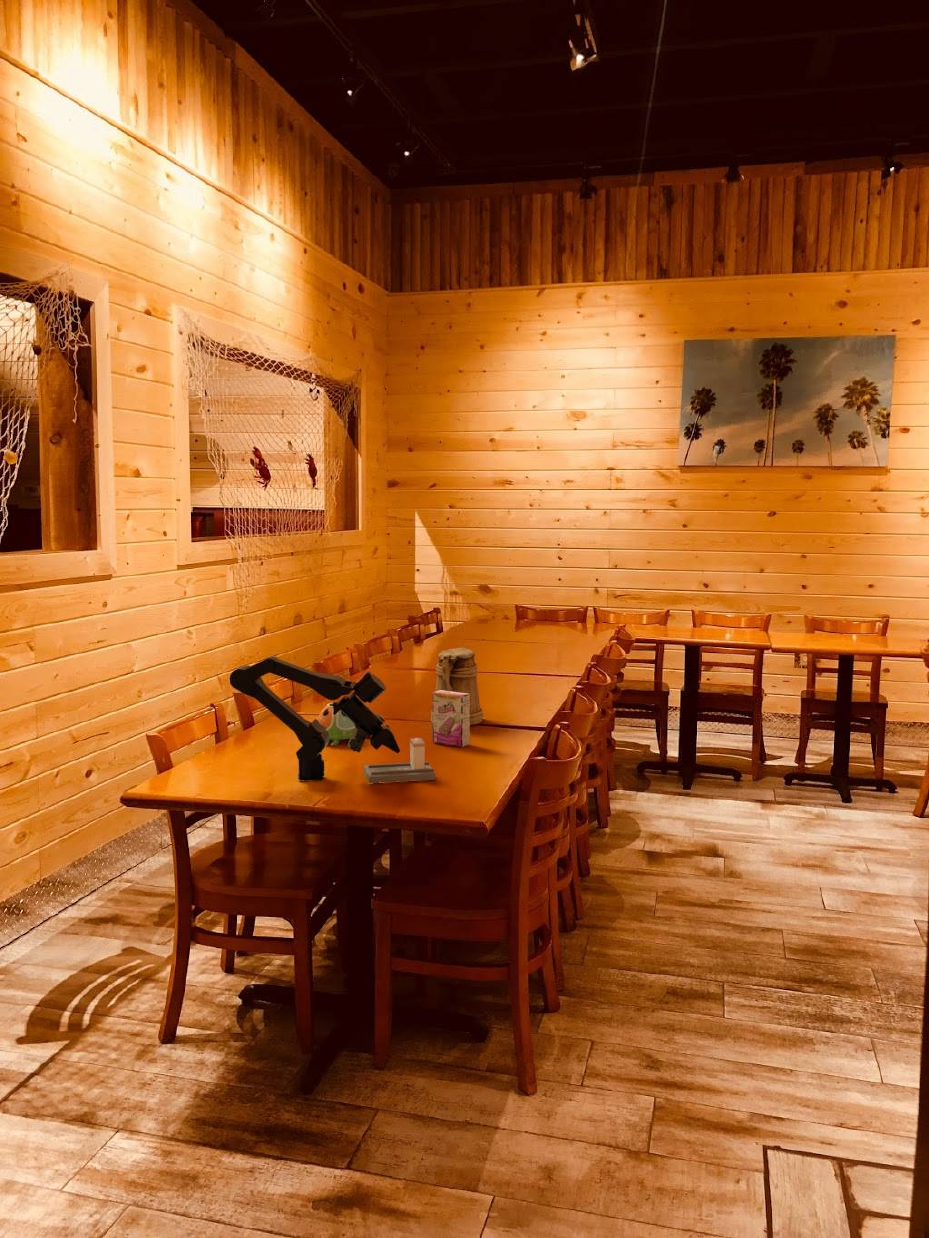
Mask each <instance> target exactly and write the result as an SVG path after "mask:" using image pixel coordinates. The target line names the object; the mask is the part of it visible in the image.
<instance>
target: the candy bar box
mask: <svg viewBox="0 0 929 1238" xmlns="http://www.w3.org/2000/svg"><path fill="white" fill-rule="evenodd" d="M432 709H433V722H432V744H439V745H442V746H443V745H445V746H452V747H457V748H465V747H467V746H469V745H470V742H471V741H470V740H471V739H470V738H471V737H470V735H471V734H470V733H471V732H470V731H471V726H470V694H468V693H460V692H452V691H445V690H439V691H436V690H435V691H433V692H432Z"/></svg>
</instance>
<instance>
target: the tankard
mask: <svg viewBox="0 0 929 1238" xmlns="http://www.w3.org/2000/svg"><path fill="white" fill-rule="evenodd" d="M475 656H476V653H475V652H474V651H473V650H471V649H468V648H466V647H456V648H450V649H449V648H448V649H446V650H442V651H441V652H440V653H439V654H438V655H437V658H438V662H437V664H436V668H435V673H436V683H435V684H436V685H435V691H439V690H445V691H452V692H460V693H468V694H470V727H472V726H476V725H478V724H481V723H482V722H483V717H484V713H483V708H481V703H480V696H479V688H478V678H477V675H478V672H479V671H478V665H477V663H476V662H475V661H476V660H475ZM430 713H431V715H430V722H431V723H433V708H432V709H431V711H430Z"/></svg>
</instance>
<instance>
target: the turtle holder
mask: <svg viewBox="0 0 929 1238" xmlns="http://www.w3.org/2000/svg"><path fill="white" fill-rule="evenodd" d="M332 705H333V702H330V703H327V704H326V706H325V707H324V708H323V709H322V710H321V712H320V713H319V716H318V722H319V723H320V724H321V725H322V726H324V727H327V729H326V731H327V732H328V733H329V738H330V739H329V741H330V740H332V741H331V742H330V746H332V745H335V746H338V745H339V743H340V740H347V739H348V740H350V738H351V736H352V734H353V732H354V730H355V728H356V727H355V725H354V723H353V722H352V721H351V720H350V719H349V718H348V717H347V716H346V715H345V714H344V713H343V712H342V711H341V710H340V711H339V712H338V713H336V714H335V715H334V714H333V706H332ZM332 747H333V746H332Z"/></svg>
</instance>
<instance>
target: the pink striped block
mask: <svg viewBox="0 0 929 1238" xmlns="http://www.w3.org/2000/svg"><path fill="white" fill-rule="evenodd" d="M425 744H426V743H425V741H424V740H423V738H422V737H412V738H411V737H410V738H409V745H410V746H409V751H410V752H409V753H410V755H409V757H410V758H409V759H410V760H409V761H410V762H409V763H410V765H411V767H412V768H413V770H416V769H425V765H424V762H425Z"/></svg>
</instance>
